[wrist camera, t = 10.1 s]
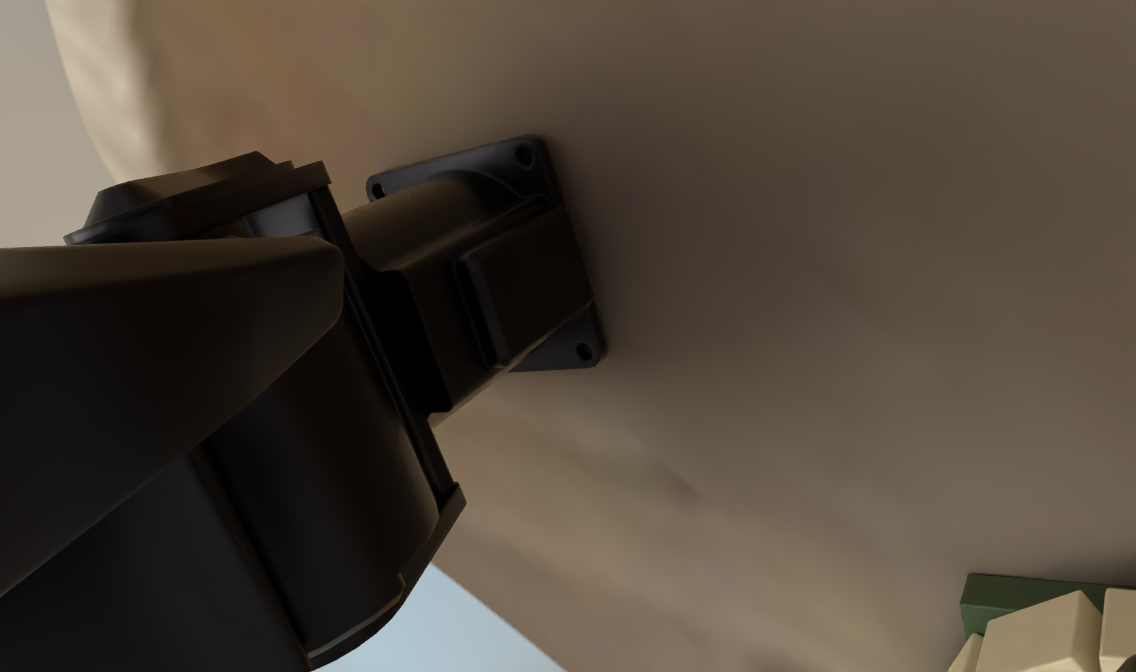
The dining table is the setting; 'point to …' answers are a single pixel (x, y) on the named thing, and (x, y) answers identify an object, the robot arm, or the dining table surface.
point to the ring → (1056, 637)
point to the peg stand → (1015, 597)
